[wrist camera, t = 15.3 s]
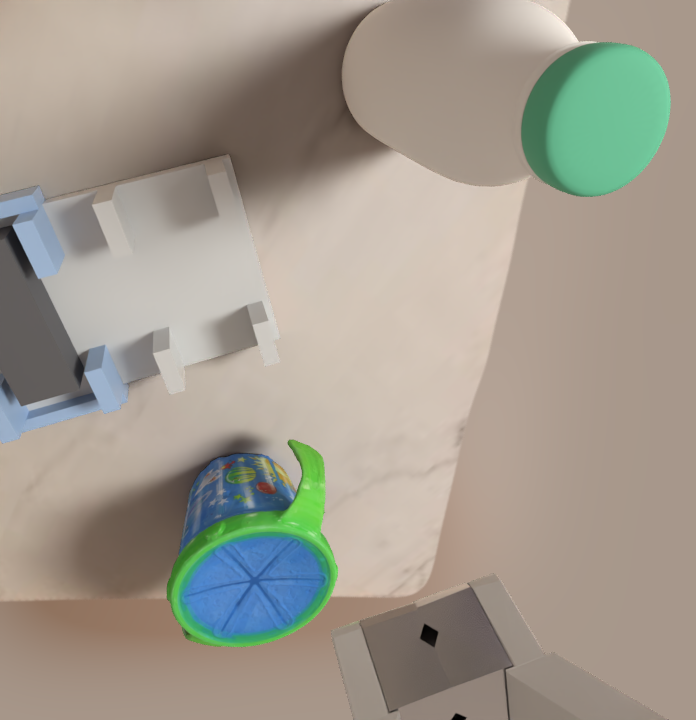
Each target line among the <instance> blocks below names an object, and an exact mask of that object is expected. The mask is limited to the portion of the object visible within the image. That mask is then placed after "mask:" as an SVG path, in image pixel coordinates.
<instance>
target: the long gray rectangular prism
mask: <svg viewBox="0 0 696 720" xmlns="http://www.w3.org/2000/svg"><path fill="white" fill-rule="evenodd" d="M84 369H85V368H84V366H83V364H82V362H81V360H80V358H79V356H78V354H77V352H76V350H75V348H74V346H73V344H72V342H71V340H70V337H69V335H68V333H67V331H66V329H65V327H64V325H63V323H62V321H61V319H60V317H59V315H58V313H57V311H56V309H55V307H54V305H53V303H52V301H51V298H50V296H49V294H48V292H47V290H46V288H45V286H44V284H43V282H42V280H41V278H40V279H38V277H37V275H36V273H35V271H34V269H33V267H32V265H31V263H30V261H29V259H28V257H27V255H26V253H25V251H24V249H23V246H22V244H21V242H20V240H19V238H18V236H17V234H16V232H15V230H14V228H13V226H12V225H10V226H7V227H3V228H0V370H1V372H2V374H3V375H4V377H5V379H6V381H7V382H8V384H9V386H10V388H11V389H12V391H13V393H14V395H15V396H16V398H17V400H18V402H19V403H20V405H21V406H25V405H28V404H32V403H35V402H39V401H42V400H46V399H49V398H53V397H56V396H60V395H63V394H66V393H70V392H73V391H77V390H80V386H81V382H82V377H83V373H84Z"/></svg>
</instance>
